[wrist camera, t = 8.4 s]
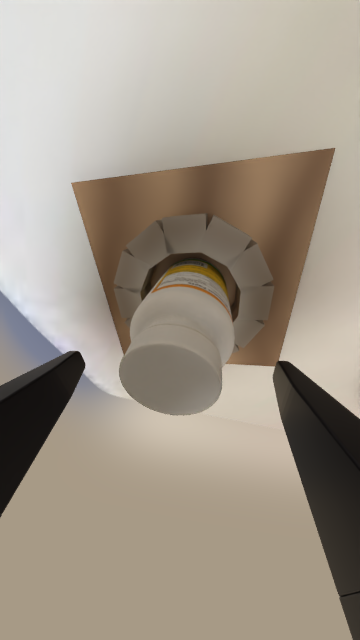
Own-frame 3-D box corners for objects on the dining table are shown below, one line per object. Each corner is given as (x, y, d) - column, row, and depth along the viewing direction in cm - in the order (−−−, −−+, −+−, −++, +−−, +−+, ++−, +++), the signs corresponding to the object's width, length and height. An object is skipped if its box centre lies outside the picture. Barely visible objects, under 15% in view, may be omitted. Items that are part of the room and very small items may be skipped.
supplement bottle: (191, 328, 17) (170, 438, 9) (148, 287, 16) (76, 373, 7) (240, 293, 15) (275, 399, 6) (195, 240, 13) (164, 291, 5)
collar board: (327, 151, 10) (369, 130, 8) (274, 360, 18) (285, 387, 16) (78, 184, 13) (42, 177, 10) (127, 353, 21) (114, 374, 18)
